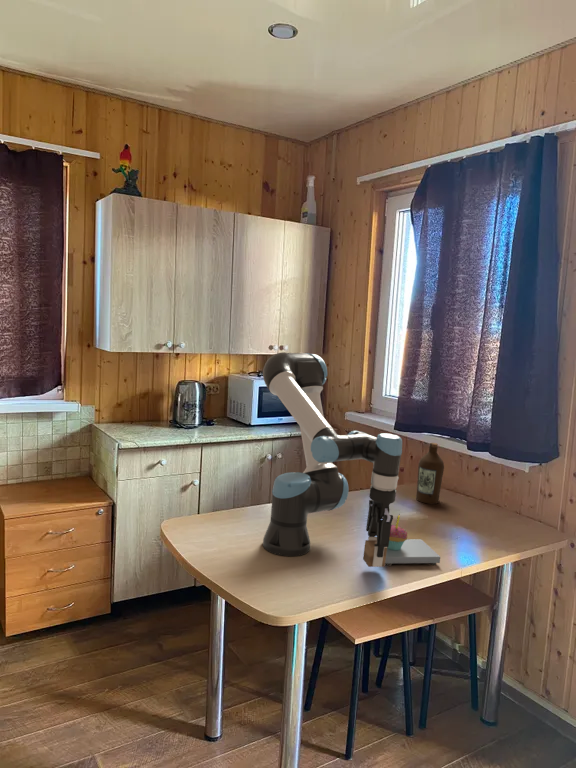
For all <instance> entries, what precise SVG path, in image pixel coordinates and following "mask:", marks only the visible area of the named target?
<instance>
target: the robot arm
mask: <svg viewBox="0 0 576 768" xmlns="http://www.w3.org/2000/svg"><path fill="white" fill-rule="evenodd" d="M262 376H263V377H262V378H263V381H264V384H265V386H266V388H267V389H268V390H269V392H270V393H271V394H272V395H274V396H277V397H278V399H279V400H280V402H281V403H282V404H283V405H284V407H285V408H286V410H287V411H288V412H289V413H290V416H292V417H293V419H294V420H295V422H296V423H297V424H298V425H299V428H300V434H301V435H300V436H301V440H302V447H303V453H304V459H305V465H306V468H305V469H304V470H303V472H298V471H296V472H294V471H292V472H291V471H290V472H285V473H282V474H279V475H278V476H276V477H275V479H274V481H273V487H272V497H271V508H270V510H271V511H270V520H269V524H268V526H267V528H266V531H265V534H264V535H263V539H262V547H263V548H264V549H265V550H266V551H267V552H269V553H271V554H274V555H278V556H284V557H298V556H302V555H306V554H307V553H308V552H309V551H310V549H311V540H310V536H309V535H310V534H309V531H308V527H307V524H308V523H307V522H308V514H314V513H320V512H325V511H329V512H330V511H333V510H336V509H340V508H341V507H342V506H343V505H345V503H346V500H347V499H348V496H349V484H348V480H347V478H346V477H345V475H344V474H342V473H340V472H339V469H338V466H337V465H335V464H334V463H335V462H342V461H353V460H354V461H355V460H365V461H367V462H370V463H373V464H372V465H373V466H372V471H371V480H370V484H371V485H370V486H369V487H370V489H369V496H368V497H369V500H368V501H369V502H368V512H367V513H368V514H367V520H366V527H365V531H366V532H367V535H368V539H367V540H377V544H374V546H375V549H374V557H373V564H372V566H373V568H378V567H379V568H380V567H381V568H383V567H382V562H383V554H384V547H388V546H389V538H390V531H391V525H392V523H393V520H394V516H393V514H390V505H391V504H393V503H395V501H396V496H397V495H396V494H397V490H396V489H397V487H398V480H399V479H400V477H399V472H400V464H401V458H402V454H403V439H402V437H400V436H399V435H397V434H392V433H386V432H385V433H384V432H383V433H378V434H377V437H376V436H374V435H371V434H368V433H367V432H364V431H359V430H351V431H350V432H349V433H347V434H338V433H337V432H336V430H334V428H333V427H332V425H331V424H330V423H329V422H328V420H326V418H325V416H324V411H323V406H322V400H321V393H322V391H323V389H324V385H325V383H326V381H327V377H328V367H327V365H326V363H325V360H324V359H323V358H322V357H321V356H320V355H318V354H315V353H311V352H310V353H309V352H303V353H302V352H301V353H300V352H283V351H281V352H277V353H275V354H273V355H271V356H270V357H269V358H268V359H267V360H266V362H265V364H264V366H263V370H262Z"/></svg>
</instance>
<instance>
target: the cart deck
mask: <svg viewBox="0 0 576 768" xmlns="http://www.w3.org/2000/svg"><path fill="white" fill-rule="evenodd" d="M440 562H441V556H440V555H439V554H438V553H437V552H436V551H435V550H434V549H433V548H432V547H431V546H430V545H428V543H426V542H425V541H424V540H423V539H421V538H420V539H417V538H415V539H414V538H413V539H409V538H407V540H405V541H404V543H403V545H402V547H401V549H400V550H396V551H395V550H390V549H388V548H387V553H386V560H385V566H388V567H389V566H390V567H391V566H392V564H429V565H430V566H437V564H440Z"/></svg>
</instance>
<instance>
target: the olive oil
mask: <svg viewBox="0 0 576 768" xmlns="http://www.w3.org/2000/svg"><path fill="white" fill-rule="evenodd" d="M444 463H445V462H444V461H443V459H442V457H440V455H439V454H438V443H436V442H430V443H429V447H428V452H427V453H426V454H423V456H422V457H421V458H420V460H419V462H418V468H417V480H416V481H417V483H416V498H415V499H416V500H417V501H418V502H420V503H424V504H429V505H435V504H438V503H439V501H440V496H441V495H440V494H441V487H442V482H443V481H442V480H443V475H444V471H445V470H444V469H445V465H444Z"/></svg>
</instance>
